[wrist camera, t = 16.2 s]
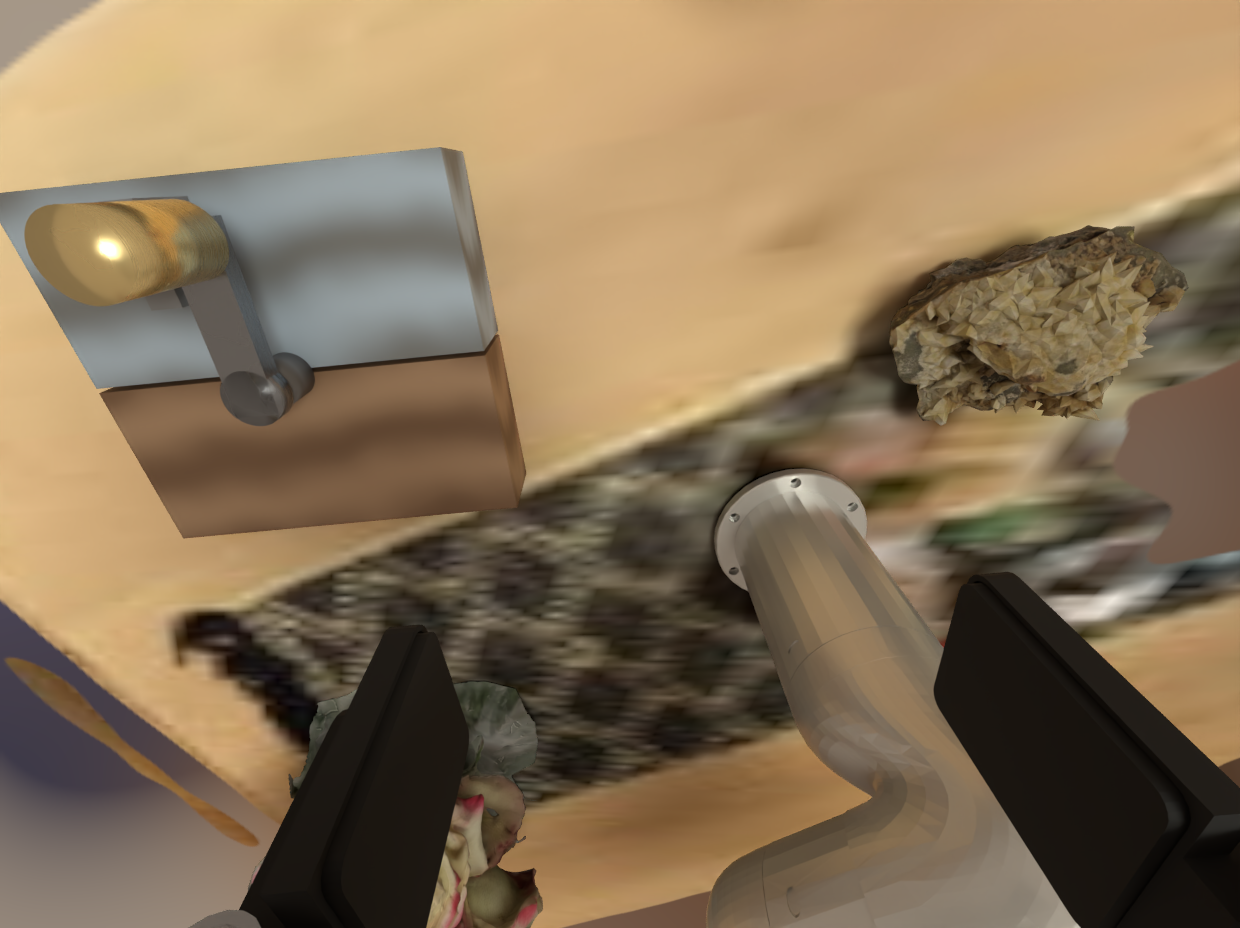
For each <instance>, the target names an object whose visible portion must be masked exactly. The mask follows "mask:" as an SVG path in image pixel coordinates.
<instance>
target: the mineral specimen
mask: <svg viewBox="0 0 1240 928" xmlns="http://www.w3.org/2000/svg"><path fill="white" fill-rule="evenodd" d="M1133 238H1134V227H1115V228H1113V229H1107V228H1103V227H1092V226H1089V225H1088V226H1086V227H1084V228H1082V229H1081V230H1077V231H1074V232H1071V233H1068V234H1063V235H1059V236H1056V237H1048V238H1046V239H1044V240H1042V241H1040V242H1038V243H1036V244H1031V245H1024V246H1019V245H1016V246H1014V247H1011V248H1010V249H1008V250H1007V251H1006V252H1005V253H1003V254H1002V255H1001V256H999V257H998V258H997V259H995V260H993V261H990V262H987V263H985V262H984V261H983V260H982V259H977V260H970V259H968V258H963V259H959V260H955V261H954V262H952V263H951V264H950V265H949V266H947V267H946V268H945V269H941V270H938V271H935V272H933V273H930V274H929V275H930V279H931V282H930V283H929V284H928V285H927V288H926V289H923V290H919V292H918V295H914V296H912V297H911V298H910V299H909V301H908V305H907V306H905V307H903V308H901V309H899V310H898V311H897V313H896V314H895V316H894V317H893V319H892V321H891V326H890V331H889V333H890V336H891V337H890V342H889V343H890V346H891V349H892V352H893V355H894V358H895V362H896V366H897V369H898V376H899V377H900V378H901V379H902V380H903V381H904V382H905V383H908V384H918V385H917V392H918V397H919V403H918V405H917V408H916V409H917V412H918V414H919V417H920V418H921V419H922V420H923V421H931V420H934V421H936V422H937V423H938V424H939V425H943V424H946V421H947V417H948V414H949V413H952V412H953V411H954V409H956V408H959V407H961V406H962V405H967V406H971V407H973V408H976V409H978V410H981V411H983V410H992V409H995V413H997V412H998V411H999V410H1000V409H1002V408H1003V407H1004V406H1013V407H1014V410H1015V412H1016V413H1017V412H1018V411H1019V410H1020V409H1021V408H1022V407H1023V406H1024V405H1027V406H1029V407H1032V408H1034V407H1035V403H1036V401H1038V402H1040V403H1042V404H1043V405H1042V406H1040V407H1039V408H1038V409H1037V410H1044V412H1043V413H1042V415H1044V416H1057V415H1061V416H1062V417H1063V416H1065V417H1066V418H1068V417H1069V416H1070V415H1071V416H1076V417H1081V418H1087V419H1093V420H1099V418H1098V417H1097V415H1096V414H1095V412H1094V410H1093V409H1092V408H1096V409H1102V405H1103V404H1102V399H1103V394H1104V392H1105V391H1106V390H1107V388H1108V387H1109V386H1110V385H1111V383H1112V381H1113V376H1114V375H1120V369H1122V368H1125V367H1127V366H1128V362H1127V360H1129V359H1135V358H1141V357H1143V356H1142V355H1141V354H1140V352H1142V351H1144V350H1146V349H1149V348H1151V347H1153V346H1151V345H1146V344H1143V343H1144V342H1145V340H1146V337H1145V336H1144V335H1143V333H1144V332H1147V331H1146V330H1145V328H1146V327H1147V325H1148V324H1149V323H1150V322H1151V321H1152V320H1153V319H1154V318H1155V316H1156V315H1157V314H1158V313H1159V312H1167V311H1173V310H1174V309H1175V308H1176V306H1177V305H1178V303H1179V302H1180V300H1181V298H1182V296H1183V294H1184V292H1185V291H1186V290H1187V289H1188V285H1187V282H1186V278H1185V275H1184V273H1182V272H1181V271H1179V270H1177V269H1175V268H1174V267H1172V266H1170V264H1169V263H1168V262H1167V260H1166V259H1165V258H1164V256H1163V255H1162V254H1161V253H1158V252H1155V251H1153V250H1150V249H1147V248H1144V247H1142V246H1140V245H1138V244H1136V243H1133ZM1142 327H1143V328H1144V329H1143V328H1142Z"/></svg>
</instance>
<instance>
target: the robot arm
mask: <svg viewBox="0 0 1240 928" xmlns="http://www.w3.org/2000/svg"><path fill="white" fill-rule="evenodd" d="M866 533H867V518H866V513H865V509H864V507H863V505H862V503H861V501H860V499H859V498H858V496H857V495H856V494H855V492H854V491H853V490H852V489H851V488H850V487H849V486H848V485H847V484H846V483H845V482H844V481H842V480H840V479H839V478H837V477H835V476H833V475H832V474H829V473H825V472H822V471H819V470H812V469H788V470H783V471H779V472H774V473H771V474H769V475H766V476H764V477H761V478H759V479H757V480H755V481H754V482H752V483H750V484H748V485H747V486H745V487H744V488H743V489H742V490H740V491H739V492H738V493H737V494H736V495H735V496H734V497H733V498H732V499H731V500H730V501H729V503H728V504H727V505H726V506H725V508H724V510H723V511H722V513H721V515H720V516H719V519H718V522H717V525H716V528H715V534H714V546H715V552H716V556H717V559H718V562H719V564H720V566H721V568H722V570H723V572H724V573H725V574H726V576H727V577H728V578H729V579H730V580H731V581H732V582H733V583H735V584H736V585H737V586H739V587H740V588H742V589H744V590H746V591H749V594H750V597H751V600H752V603H753V605H754V608H755V611H756V614H757V617H758V619H759V622H760V625H761V628H762V631H763V633H764V636H765V639H766V642H767V645H768V647H769V650H770V653H771V656H772V659H773V661H774V664H775V667H776V670H777V673H778V676H779V678H780V681H781V684H782V687H783V690H784V692H785V695H786V698H787V701H788V704H789V706H790V709H791V712H792V714H793V717H794V720H795V723H796V725H797V727H798V729H799V732H800V734H801V735H802V737H803V739H804V740H805V742H806V744H807V745H808V746H809V748H810V749H811V750H812V751H813V752H814V754H815V755H816V756H817V757H818V758H819V759H820V760H821V761H822V762H823V763H824V764H825V765H826V766H827V767H829V768H830V769H831V770H832V771H833V772H835V773H836V774H837V775H839V776H840V777H842V778H843V779H845V780H846V781H848V782H849V783H851V784H852V785H854V786H855V787H857V788H859V789H860V790H862V791H864V792H865V793H867V794H869V795H870V796H872V798H871V799H870V800H868V801H867V802H865V803H863V804H861V805H858V806H856V807H854V808H852V809H850V810H847V811H846V812H845V813H844V814H841V815H839V816H836V817H834V818H831V819H829V820H826V821H824V822H821V823H819V824H817V825H814V826H812V827H809V828H807V829H804V830H802V831H799V832H797V833H794V834H792V835H789V836H787V837H784V838H782V839H779V840H777V841H774V842H772V843H770V844H768V845H765V846H763V847H761V848H758V849H756V850H754V851H752V852H750V853H748V854H746V855H744V856H742V857H740V858H739V859H737V860H736V861H734V862H733V863H732V864H731V865H729V866H728V867H727V868H726V869H725V870H724V871H723V872H722V873H721V875H720V876H719V877H718V879H717V880H716V882H715V884H714V886H713V889H712V891H711V893H710V898H709V901H708V907H707V914H706V928H1240V788H1239V787H1238V786H1237V785H1236V784H1235V783H1234V782H1233V781H1232V780H1231V779H1230V778H1229V777H1228V776H1227V775H1226V774H1225V773H1224V772H1222V771H1221V770H1220V769H1219V768H1218V767H1217V766H1216V765H1215V764H1214V763H1213V762H1212V761H1211V760H1210V759H1209V758H1208V757H1207V756H1206V755H1205V754H1204V753H1203V752H1202V751H1200V750H1199V749H1198V748H1197V747H1196V746H1195V745H1194V744H1193V743H1192V742H1191V741H1190V740H1189V739H1188V738H1187V737H1186V736H1185V735H1184V734H1183V733H1182V732H1181V731H1179V730H1178V729H1177V728H1176V727H1175V726H1174V725H1173V724H1172V723H1171V722H1170V721H1169V720H1168V719H1167V718H1166V717H1165V716H1164V715H1163V714H1162V713H1161V712H1160V711H1159V710H1157V709H1156V708H1155V707H1154V706H1153V705H1152V704H1151V703H1150V702H1149V701H1148V700H1147V699H1146V698H1145V697H1144V696H1143V695H1142V694H1141V693H1140V692H1139V691H1138V690H1136V689H1135V688H1134V687H1133V686H1132V685H1131V684H1130V683H1129V682H1128V681H1127V680H1126V679H1125V678H1124V677H1123V676H1122V675H1121V674H1120V673H1119V672H1118V671H1117V670H1116V669H1114V668H1113V667H1112V666H1111V665H1110V664H1109V663H1108V662H1107V661H1106V660H1105V659H1104V658H1103V657H1102V656H1101V655H1100V654H1099V653H1098V652H1097V651H1096V650H1095V649H1093V648H1092V647H1091V646H1090V645H1089V644H1088V643H1087V642H1086V641H1085V640H1084V639H1083V638H1082V637H1081V636H1080V635H1079V634H1078V633H1077V632H1076V631H1075V630H1074V629H1073V628H1071V627H1070V626H1069V625H1068V624H1067V623H1066V622H1065V621H1064V620H1063V619H1062V618H1061V617H1060V616H1059V615H1058V614H1057V613H1056V612H1055V611H1054V610H1053V609H1052V608H1050V607H1049V606H1048V605H1047V604H1046V603H1045V602H1044V601H1043V600H1042V599H1041V598H1040V597H1039V596H1038V595H1037V594H1036V593H1035V592H1034V591H1033V590H1032V589H1031V588H1030V587H1028V586H1027V585H1026V584H1025V583H1024V582H1023V581H1022V580H1021V579H1020V578H1019V577H1018V576H1016V575H1015V574H1013V573H1010V572H1001V573H990V574H979V575H973V576H972V577H971V578H970V579H969V581H968V583H967V584H964V585H963V586H961V588H960V591H959V594H958V598H957V602H956V605H955V609H954V613H953V617H952V620H951V624H950V628H949V631H948V635H947V639H946V643H945V646H944V648H943V647H942V646H941V644H940V643H939V642H938V640H937V639H936V637H935V636H934V634H933V633H932V632H931V630H930V629H929V627H928V626H927V625H926V623H925V622H924V621H923V619H922V618H921V617H920V615H919V614H918V612H917V611H916V610H915V608H914V607H913V606H912V604H911V603H910V602H909V600H908V599H907V597H906V596H905V595H904V593H903V592H902V591H901V589H900V588H899V586H898V585H897V584H896V582H895V581H894V580H893V578H892V577H891V576H890V574H889V573H888V571H887V570H886V569H885V567H884V566H883V565H882V563H881V562H880V561H879V559H878V558H877V556H876V555H875V554H874V552H873V551H872V550H871V548H870V547H869V545H868V544H867V543H866V541H865V537H866ZM468 747H469V729H468V725H467V723H466V720H465V717H464V714H463V711H462V708H461V705H460V702H459V699H458V696H457V693H456V691H455V688H454V685H453V682H452V679H451V676H450V673H449V670H448V667H447V664H446V661H445V659H444V656H443V653H442V650H441V647H440V644H439V641H438V638H437V636H436V634H435V633H434V632H427V630H426V628H425V627H424V626H423V625H412V626H400V627H390V628H388V629H387V630H386V632H385V633H384V635H383V637H382V639H381V641H380V643H379V645H378V647H377V649H376V651H375V653H374V656H373V658H372V660H371V662H370V664H369V666H368V668H367V670H366V672H365V674H364V676H363V679H362V681H361V683H360V685H359V687H358V689H357V691H356V693H355V695H354V697H353V699H352V701H351V704H350V706H349V708H348V709H345V710H343V711H341V712H340V713H339V714H338V715H337V716H336V718H335V719H334V721H333V722H332V724H331V726H330V728H329V730H328V732H327V734H326V736H325V738H324V740H323V742H322V744H321V746H320V748H319V750H318V752H317V754H316V756H315V758H314V760H313V762H312V764H311V766H310V768H309V770H308V772H307V774H306V776H305V778H304V780H303V782H302V784H301V786H300V788H299V790H298V792H297V794H296V796H295V798H294V800H293V802H292V804H291V806H290V808H289V810H288V812H287V814H286V816H285V818H284V820H283V822H282V824H281V826H280V828H279V830H278V833H277V834H276V837H275V838H274V841H273V842H272V844H271V847H270V849H269V851H268V853H267V855H266V856H265V858H264V861H263V863H262V865H261V867H260V869H259V871H258V873H257V875H256V877H255V879H254V881H253V883H252V885H251V887H250V889H249V891H248V893H247V895H246V897H245V899H244V901H243V903H242V905H241V907H240V909H239V910H226V911H223V912H219V913H216V914H213V915H210V916H207V917H206V918H204V919H202V920H201V921H199V922H197V923H195V924H194V925H192V926H190V927H189V928H426V927H427V923H428V919H429V914H430V910H431V906H432V901H433V897H434V893H435V889H436V884H437V880H438V876H439V872H440V867H441V863H442V859H443V855H444V850H445V846H446V842H447V837H448V833H449V829H450V825H451V820H452V816H453V812H454V808H455V803H456V799H457V795H458V791H459V786H460V782H461V778H462V773H463V769H464V765H465V761H466V756H467V752H468Z"/></svg>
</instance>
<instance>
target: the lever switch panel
mask: <svg viewBox="0 0 1240 928" xmlns="http://www.w3.org/2000/svg"><path fill="white" fill-rule="evenodd" d="M159 199H180V200H185V201H188V202H191V203H193V204H195V205H197V206H199V207H200V208H202V209H203V210H205V211H206V212H207V213H208V214H209V215H210V216H214V215H221V216H222V219H223V222H224V224H225V227H226V230H227V233H228V235H229V238H230V241H231V244H232V246H233V249H234V252H235V255H236V257H237V260H238V263H239V266H240V268H241V271H242V274H243V277H244V279H245V282H246V285H247V287H248V290H249V293H250V296H251V298H252V301H253V304H254V307H255V309H256V312H257V315H258V318H259V320H260V323H261V326H262V329H263V331H264V334H265V337H266V340H267V342H268V345H269V348H270V350H271V353H272V356H273V359H274V361H275V364H276V367H277V370H278V372H279V373H280V374H281V375H282V376H283V377H284V378H285V379H286V380H287V381H288V383H289V384H290V386H291V388H292V391H293V396H294V402H293V406H292V408H291V409H290V411H289V412H288V413H287V414H285V415H284V416H283V417H281V418H280V419H279V420H277V421H276V422H274V423H273V424H271V425H267V426H253V425H249V424H246V423H244V422H242V421H240V420H238V419H237V418H235V417H234V416H233V415H232V414H231V413H230V412H229V411H228V410H227V409H226V407H225V406H224V404H223V402H222V399H221V396H220V386H221V383H222V382H221V379H220V377H219V375H218V372H217V370H216V367H215V365H214V363H213V360H212V358H211V356H210V353H209V351H208V348H207V346H206V344H205V341H204V339H203V337H202V334H201V332H200V329H199V327H198V325H197V322H196V320H195V317H194V315H193V313H192V310H191V308H190V306H189V303H188V301H187V298H186V296H185V294H184V291H183V289H182V287H180V288H176V289H172V290H168V291H165V292H161V293H157V294H153V295H149V296H145V297H141V298H137V299H133V300H129V301H125V302H122V303H118V304H114V305H110V306H91V305H87V304H83V303H81V302H78V301H76V300H73V299H71V298H69V297H68V296H66V295H64V294H63V293H61V292H60V291H58V290H57V289H56V288H55V287H53V286H52V285H51V284H50V283H49V282H48V281H47V280H46V279H45V278H44V277H43V276H42V275H41V274H40V272H39V271H38V270H37V268H36V267H35V265H34V263H33V262H32V260H31V258H30V256H29V254H28V251H27V248H26V244H25V237H24V231H25V225H26V222H27V220H28V218H29V216H30V215H31V214H32V213H33V212H34V211H35V210H37V209H38V208H40V207H43V206H46V205H52V204H71V203H93V202H115V201H137V200H159ZM0 223H1V225H2V227H3V228H4V230H5V232H6V233H7V235H8V237H9V239H10V240H11V242H12V244H13V246H14V247H15V249H16V251H17V252H18V254H19V256H20V258H21V259H22V261H23V263H24V265H25V266H26V268H27V270H28V271H29V273H30V275H31V277H32V278H33V280H34V282H35V283H36V285H37V287H38V289H39V290H40V292H41V294H42V296H43V297H44V299H45V301H46V302H47V304H48V306H49V308H50V309H51V311H52V313H53V314H54V316H55V318H56V320H57V321H58V323H59V325H60V327H61V328H62V330H63V332H64V333H65V335H66V337H67V339H68V340H69V342H70V344H71V346H72V347H73V349H74V351H75V352H76V354H77V356H78V358H79V359H80V361H81V363H82V364H83V366H84V368H85V370H86V371H87V373H88V375H89V377H90V378H91V380H92V382H93V383H94V385H95V387H96V389H99V388H110V387H113V388H111V389H108V390H106V391H104V392H101V393H99V394H100V395H101V397H102V399H103V401H104V402H105V404H106V406H107V408H108V409H109V411H110V413H111V414H112V416H113V418H114V420H115V421H116V423H117V425H118V427H119V428H120V430H121V432H122V433H123V435H124V437H125V439H126V440H127V442H128V444H129V445H130V447H131V449H132V451H133V452H134V454H135V456H136V458H137V459H138V461H139V463H140V464H141V466H142V468H143V470H144V471H145V473H146V475H147V476H148V478H149V480H150V482H151V483H152V485H153V487H154V489H155V490H156V492H157V494H158V495H159V497H160V499H161V501H162V502H163V504H164V506H165V508H166V509H167V511H168V513H169V514H170V516H171V518H172V520H173V521H174V523H175V525H176V526H177V528H178V530H179V532H180V533H181V535H182V537H183V538H193V537H204V536H215V535H225V534H236V533H247V532H258V531H268V530H279V529H290V528H301V527H311V526H322V525H333V524H344V523H354V522H365V521H376V520H387V519H397V518H408V517H419V516H430V515H440V514H451V513H462V512H473V511H483V510H494V509H505V508H515V507H518V503H519V499H520V495H521V491H522V488H523V484H524V480H525V476H526V469H525V464H524V459H523V454H522V449H521V444H520V439H519V434H518V429H517V424H516V419H515V414H514V409H513V404H512V399H511V394H510V388H509V383H508V378H507V373H506V368H505V363H504V358H503V353H502V348H501V343H500V338H499V335H495V334H496V333H497V331H498V328H497V323H496V318H495V313H494V307H493V302H492V297H491V292H490V287H489V282H488V277H487V272H486V267H485V262H484V257H483V252H482V247H481V242H480V237H479V232H478V227H477V221H476V216H475V211H474V206H473V201H472V196H471V191H470V186H469V181H468V176H467V171H466V166H465V161H464V156H463V152H461V151H456V150H451V149H446V148H441V147H438V148H429V149H419V150H410V151H400V152H390V153H381V154H371V155H361V156H352V157H342V158H333V159H323V160H313V161H304V162H294V163H284V164H275V165H265V166H256V167H246V168H236V169H227V170H217V171H207V172H198V173H188V174H179V175H169V176H159V177H150V178H140V179H130V180H121V181H111V182H102V183H92V184H82V185H73V186H63V187H53V188H44V189H34V190H25V191H15V192H5V193H0Z"/></svg>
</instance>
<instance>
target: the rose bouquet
mask: <svg viewBox="0 0 1240 928" xmlns="http://www.w3.org/2000/svg"><path fill="white" fill-rule="evenodd" d="M453 685H454V688H455V691H456V693H457V696H458V699H459V702H460V705H461V708H462V711H463V714H464V717H465V720H466V723H467V725H468V729H469V747H468V752H467V756H466V761H465V765H464V769H463V770H464V771H463V773H462V778H461V782H460V786H459V791H458V795H457V799H456V803H455V808H454V812H453V816H452V820H451V825H450V829H449V833H448V837H447V842H446V846H445V850H444V855H443V859H442V863H441V867H440V872H439V876H438V880H437V884H436V889H435V893H434V897H433V901H432V906H431V910H430V914H429V919H428V923H427V927H426V928H530V927H531V925H532V923H533V921H534V919H535V918H536V917H537V915H538V914H539V913H540V912H541V911H542V909H543V901H542V897H541V896H540V893H539V891H538V888H537V887H536V885H535V880H534V876H535V873H536V870H535V869H534V868H533V869H530V870H526V871H522V872H509V871H505V870H503V869H501V868H499V867H498V866H497V864H498V863H499V862H500V860H501V858H502V856H503V855H504V854H505V853H506V852H508V851H509V850H510V849H511V848H513V847H514V846H515V843H519V842H521V841H523V840H525V838H526V836H524V837H523V838H522V839H521V840H520V841H518V840H517V832H518V830H519V829H520V827H521V825H522V819H523V817H524V814H525V813H524V812H525V809H526V807H525V805H524V799H525V798H524V796H523V793H522V791H521V790H520V789H519V788H518V787H517V785H516V784H515V782H514V780H513V778H512V776H511V775H513V774H515V773H517V772H518V771H520V770H522V769H524V768H526V767H528V766H530V765H531V764H533V763H534V762H535V757H536V753H535V752H536V750H537V747H538V745H537V744H538V743H537V742H538V740H537V739H538V738H536V737H537V734H536V733H535V732H536V727H535V722H534V721H532V719H531V718H530V715H529V714H527V712H526V710H525V708H524V706H523V703H522V702H521V698H520V697H519V696H518V695H519V694H518V693H517V690H516V689H515V688H512V687H506V686H501V685H498V684H494V683H490V682H485V681H481V682H474V681H470V682H464V683H458V684H453ZM356 691H357V690H354V691H353V692H351V694H349V695H347V696H344V697H343V696H341V697H339V698H337V699H333V698H332V699H330V700H327V701H323V702H318V703H317V705H318V710H317V712H318V713H317V714H316V716H314V718H313V721H312V722H313V723H311V725H310V732H309V733H310V739H311V741H310V744H309V753H308V756H307V758H308V759H307V760H306V763H307V764H306V765H305V766H304V770H303V772H301V775H300V776H301V777H296V778H294V780H293V778H292V777H291V775H290V774H289V778H288V779H289V780H290V782H289V784H290V789H289V790H291V791H290V795H291V798H295V796H296V794H297V792H298V790H299V788H300V786H301V784H302V782H303V780H304V778H305V776H306V774H307V772H308V770H309V768H310V766H311V764H312V762H313V760H314V758H315V756H316V754H317V752H318V750H319V748H320V746H321V744H322V742H323V740H324V738H325V736H326V734H327V732H328V730H329V728H330V726H331V724H332V722H333V721H334V719H335V718H336V716H337V715H338V714H339V713H340V712H341V711H343V710H345V709H348V708H349V706H350V704H351V701H352V699H353V697H354V695H355V693H356ZM528 800H529V799H528ZM533 801H535V800H533ZM264 858H265V857H264ZM264 858H263V860H261V861H260V863H259V864H258V865H257V866H256V867H255V870H254V872H253V874H252V877H251V880H250V883H249V887H248V891H249V889H250V887H251V885H252V883H253V881H254V879H255V877H256V875H257V873H258V871H259V869H260V867H261V865H262V863H263V861H264Z"/></svg>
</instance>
